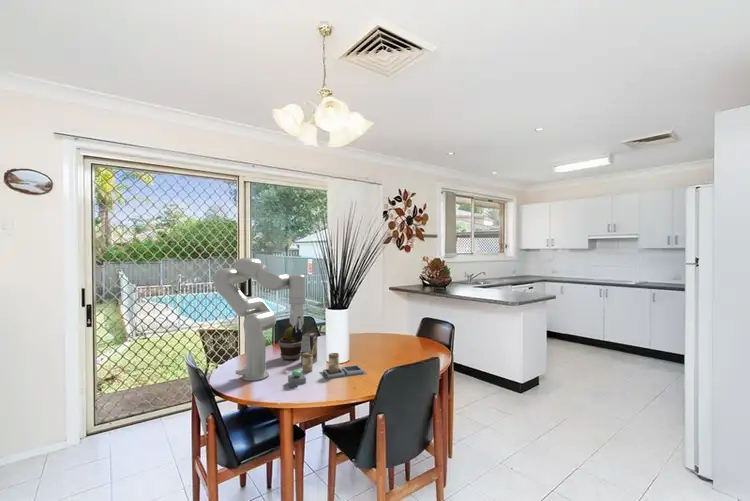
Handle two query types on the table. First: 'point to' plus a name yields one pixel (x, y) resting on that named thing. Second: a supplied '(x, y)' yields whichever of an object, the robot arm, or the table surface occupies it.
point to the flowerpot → (289, 346)
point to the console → (296, 380)
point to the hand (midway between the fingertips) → (297, 338)
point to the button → (296, 373)
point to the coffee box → (309, 346)
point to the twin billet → (333, 363)
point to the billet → (307, 363)
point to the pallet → (343, 372)
